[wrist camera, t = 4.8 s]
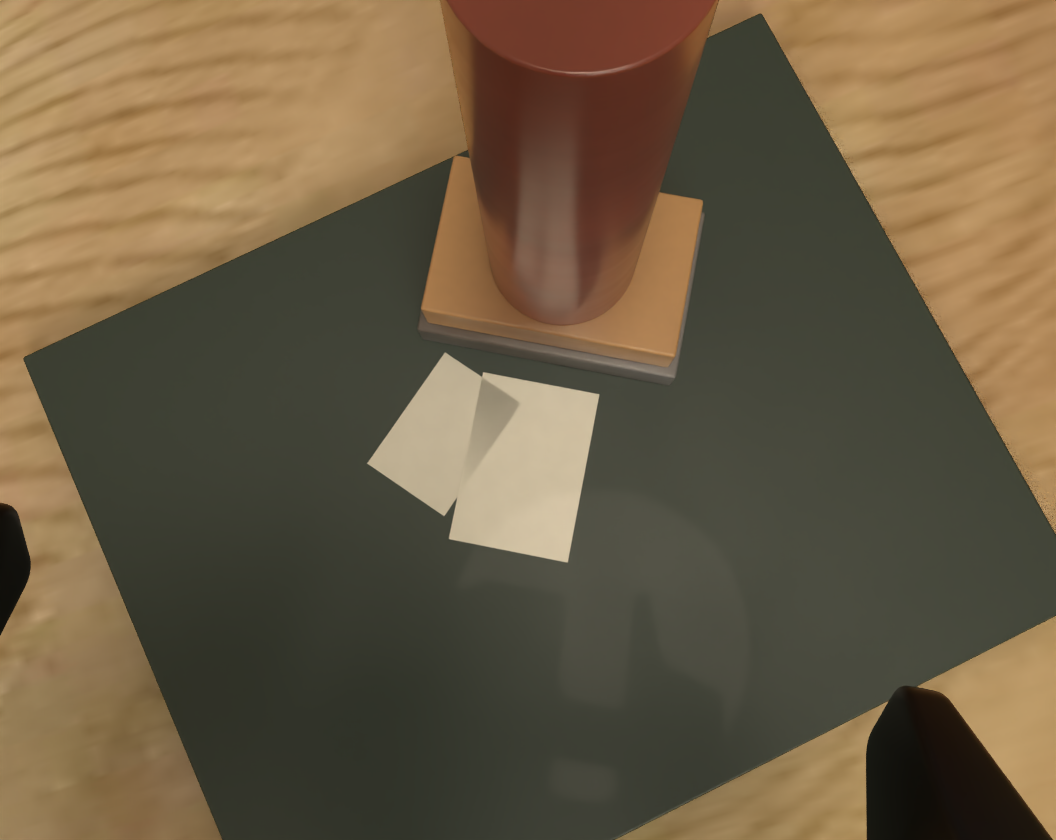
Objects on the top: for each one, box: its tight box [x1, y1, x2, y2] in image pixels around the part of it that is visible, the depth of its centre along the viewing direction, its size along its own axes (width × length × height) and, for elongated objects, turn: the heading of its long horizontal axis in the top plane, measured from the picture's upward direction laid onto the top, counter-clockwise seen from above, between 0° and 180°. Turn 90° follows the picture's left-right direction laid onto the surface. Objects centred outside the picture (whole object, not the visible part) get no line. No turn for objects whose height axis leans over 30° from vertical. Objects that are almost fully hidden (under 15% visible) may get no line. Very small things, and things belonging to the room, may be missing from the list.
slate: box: [24, 14, 1056, 840], centre depth 23 cm, size 20×16×1 cm
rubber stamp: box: [417, 0, 719, 386], centre depth 17 cm, size 6×4×13 cm, turn 79°
